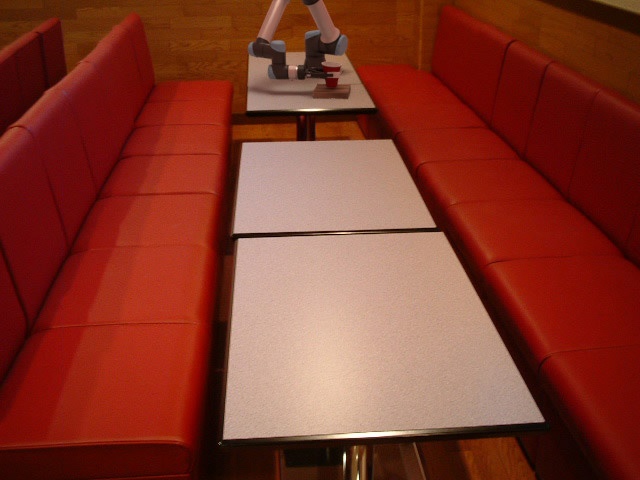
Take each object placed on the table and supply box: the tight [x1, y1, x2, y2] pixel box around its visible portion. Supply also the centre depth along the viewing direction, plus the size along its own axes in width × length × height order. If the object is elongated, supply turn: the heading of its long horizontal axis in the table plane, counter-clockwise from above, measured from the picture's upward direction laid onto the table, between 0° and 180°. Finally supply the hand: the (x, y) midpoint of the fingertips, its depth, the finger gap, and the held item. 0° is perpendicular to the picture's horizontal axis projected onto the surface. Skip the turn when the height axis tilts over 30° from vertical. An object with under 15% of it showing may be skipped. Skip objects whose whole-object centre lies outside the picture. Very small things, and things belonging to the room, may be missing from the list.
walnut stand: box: [312, 83, 352, 100], centre depth 333 cm, size 18×18×3 cm
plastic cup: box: [322, 60, 343, 88], centre depth 329 cm, size 11×11×12 cm
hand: (340, 72), depth 328 cm, fingers closed on plastic cup, 9 cm apart
